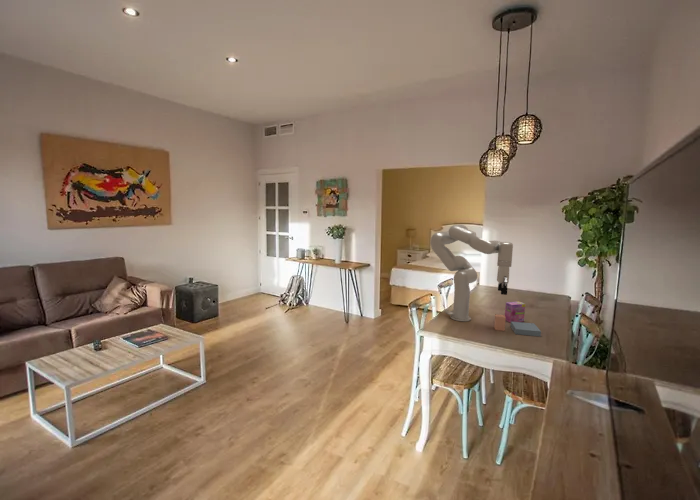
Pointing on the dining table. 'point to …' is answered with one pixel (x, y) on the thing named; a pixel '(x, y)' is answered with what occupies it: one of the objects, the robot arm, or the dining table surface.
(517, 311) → the box
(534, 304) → the dining table surface
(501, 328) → the block
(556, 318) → the dining table surface
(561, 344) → the dining table surface
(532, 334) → the base
